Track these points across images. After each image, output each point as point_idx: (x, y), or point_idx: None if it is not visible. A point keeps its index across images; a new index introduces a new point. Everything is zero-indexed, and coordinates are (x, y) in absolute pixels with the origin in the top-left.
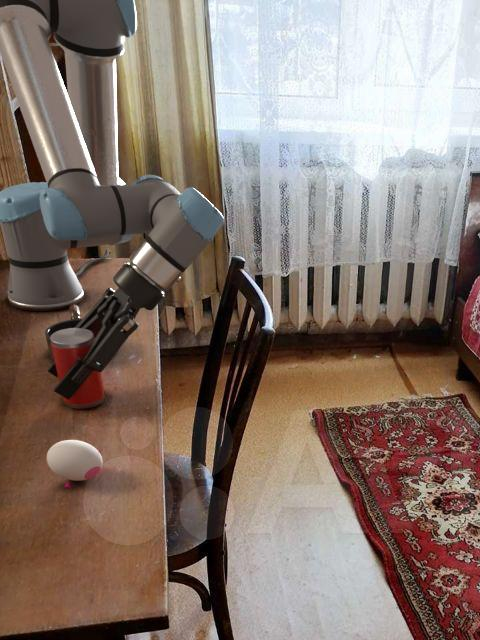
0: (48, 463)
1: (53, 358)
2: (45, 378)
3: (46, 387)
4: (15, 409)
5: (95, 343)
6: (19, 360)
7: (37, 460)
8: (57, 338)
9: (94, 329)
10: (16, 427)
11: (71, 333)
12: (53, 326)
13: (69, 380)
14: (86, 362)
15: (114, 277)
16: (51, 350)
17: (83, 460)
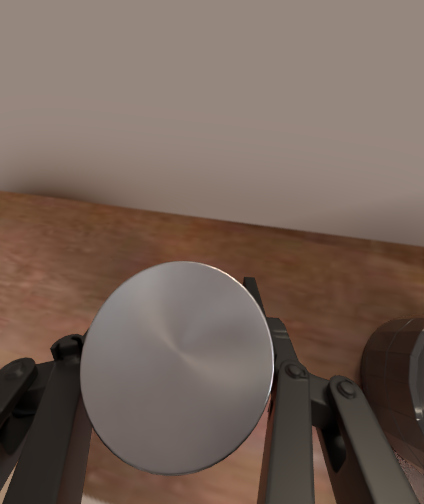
0: None
1: (396, 319)
2: (314, 289)
3: (275, 284)
4: (211, 227)
5: (22, 453)
6: (402, 260)
7: (39, 230)
8: (176, 285)
9: (261, 497)
10: (152, 220)
11: (206, 355)
12: None
13: None
14: (29, 362)
15: None
16: (413, 317)
17: None
